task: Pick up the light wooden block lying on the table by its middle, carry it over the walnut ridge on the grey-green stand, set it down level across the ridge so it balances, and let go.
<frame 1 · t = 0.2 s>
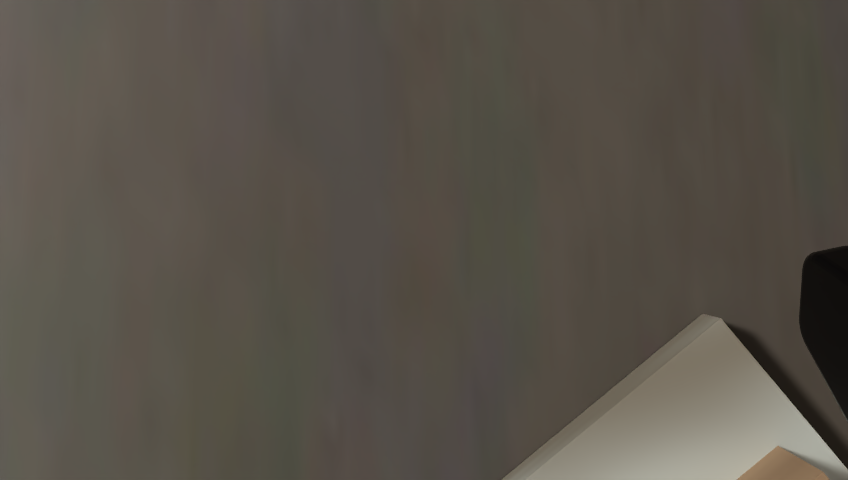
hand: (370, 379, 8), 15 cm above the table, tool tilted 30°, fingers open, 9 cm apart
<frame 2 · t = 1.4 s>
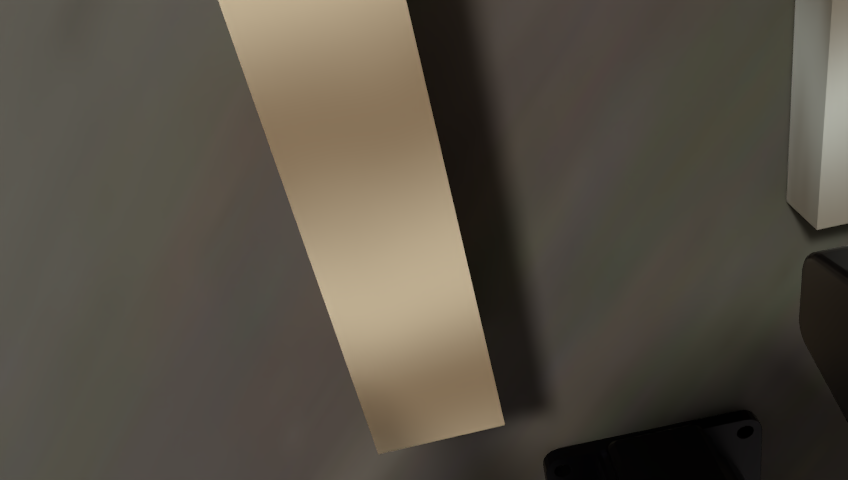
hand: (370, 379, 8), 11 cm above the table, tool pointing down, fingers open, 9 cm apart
light wooden block: (347, 57, 18), on the table
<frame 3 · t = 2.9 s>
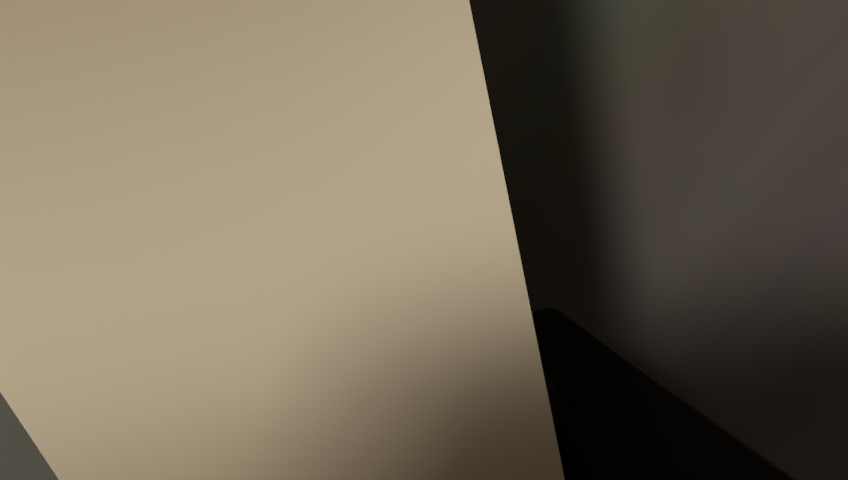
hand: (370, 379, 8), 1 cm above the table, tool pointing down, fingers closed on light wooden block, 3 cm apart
light wooden block: (366, 304, 9), on the table, touching gripper
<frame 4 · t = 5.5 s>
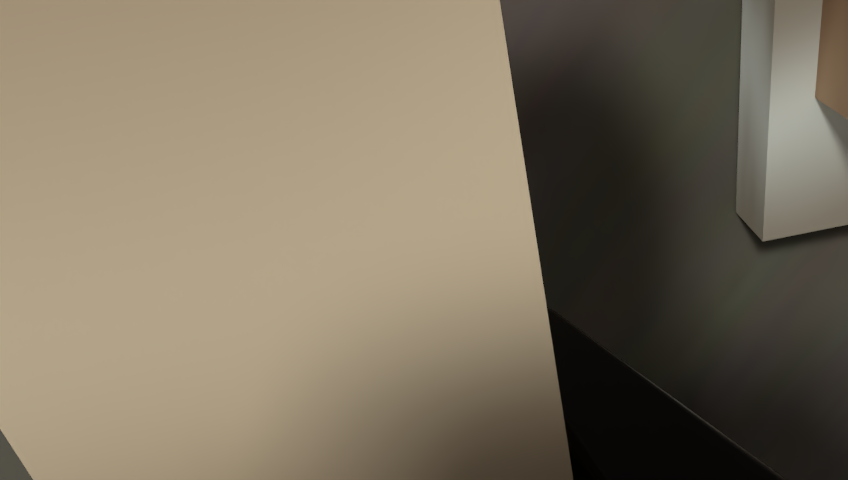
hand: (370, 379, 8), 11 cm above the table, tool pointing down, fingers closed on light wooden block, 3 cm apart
light wooden block: (365, 318, 9), point 10 cm above the table, touching gripper
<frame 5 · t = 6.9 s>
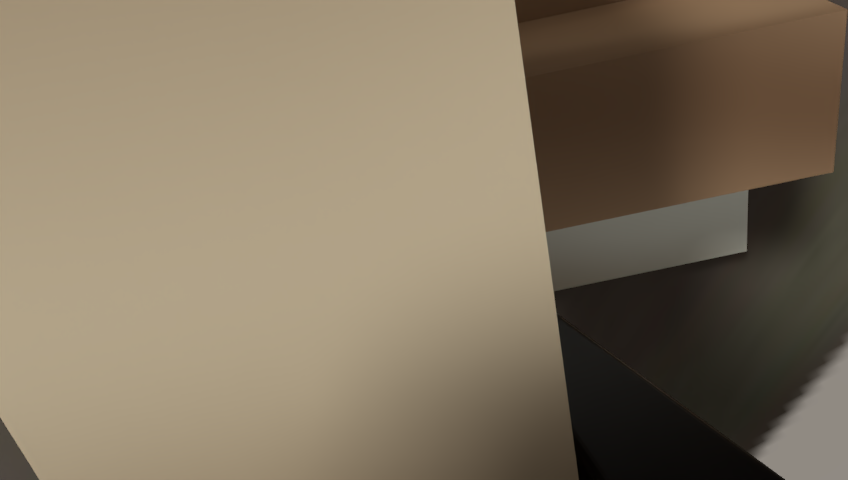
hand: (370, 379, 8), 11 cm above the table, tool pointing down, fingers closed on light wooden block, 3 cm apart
ridge stand: (356, 59, 17), on the table
light wooden block: (365, 314, 9), point 10 cm above the table, touching gripper
when the fingers open (8 cm above the table, at t = 7.9 s): light wooden block stays where it is, resting on ridge stand.
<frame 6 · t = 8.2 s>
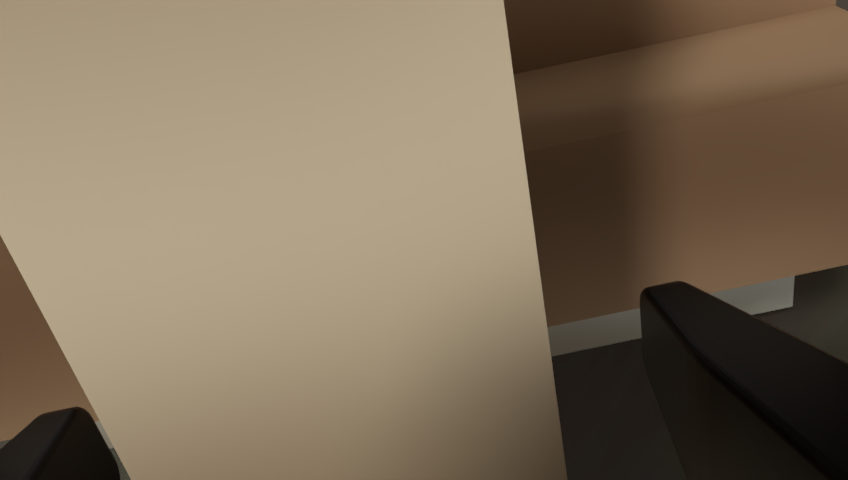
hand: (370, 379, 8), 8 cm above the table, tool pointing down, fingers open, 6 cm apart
ridge stand: (356, 96, 15), on the table
light wooden block: (367, 279, 10), point 6 cm above the table, touching ridge stand
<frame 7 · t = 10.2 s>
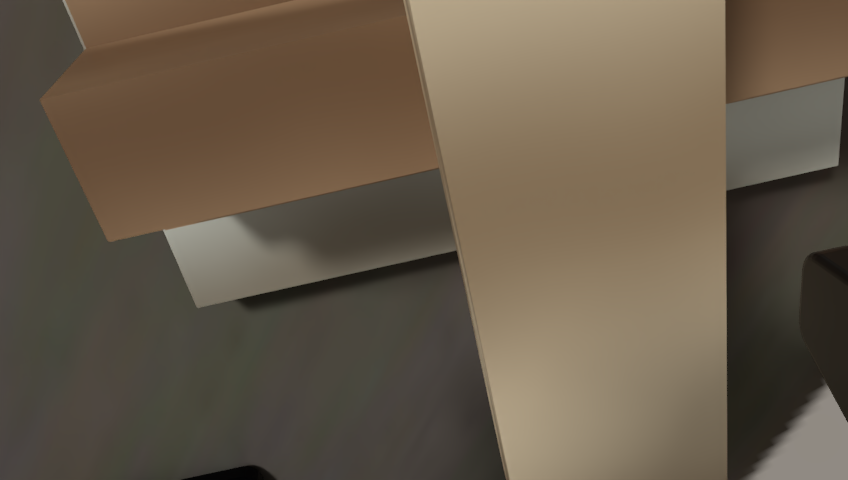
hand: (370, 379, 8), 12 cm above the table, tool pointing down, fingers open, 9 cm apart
light wooden block: (519, 71, 12), point 6 cm above the table, touching ridge stand
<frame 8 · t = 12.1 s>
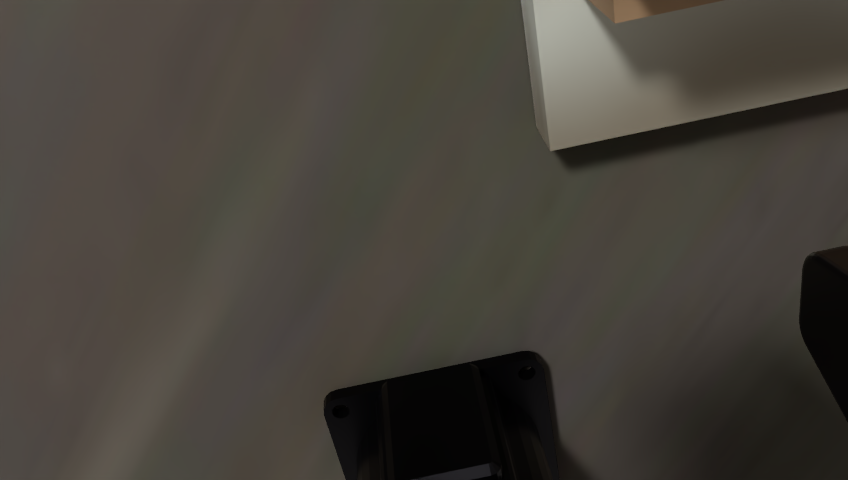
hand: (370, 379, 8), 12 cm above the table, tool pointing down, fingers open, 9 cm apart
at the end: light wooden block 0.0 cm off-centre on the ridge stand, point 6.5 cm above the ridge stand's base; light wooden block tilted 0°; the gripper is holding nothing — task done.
